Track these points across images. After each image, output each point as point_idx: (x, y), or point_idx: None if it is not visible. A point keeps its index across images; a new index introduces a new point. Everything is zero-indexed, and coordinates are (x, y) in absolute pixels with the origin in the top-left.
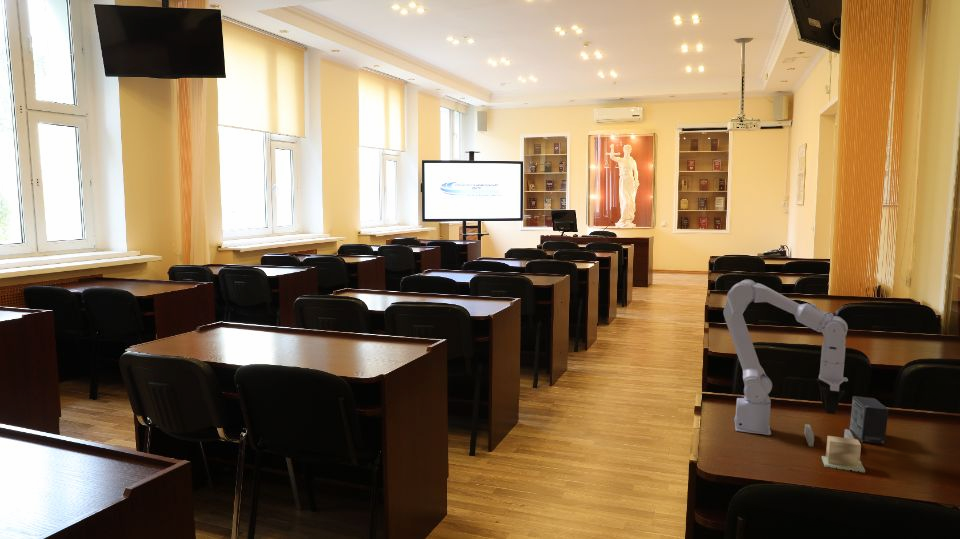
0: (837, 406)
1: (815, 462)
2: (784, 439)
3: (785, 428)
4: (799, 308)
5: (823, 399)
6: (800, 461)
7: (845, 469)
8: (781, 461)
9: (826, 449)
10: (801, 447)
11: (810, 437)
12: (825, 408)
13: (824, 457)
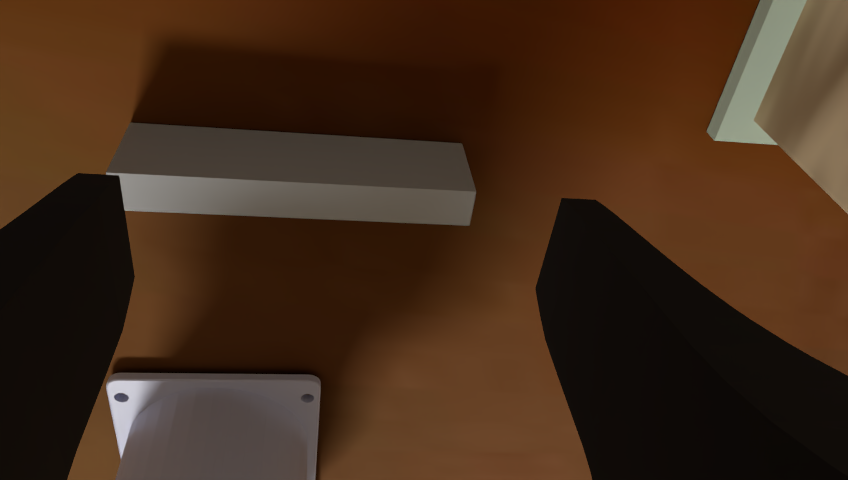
0: (679, 268)
1: (784, 185)
2: (358, 305)
3: None
4: None
5: (106, 335)
6: (763, 265)
7: None
8: None
9: (796, 158)
10: (500, 226)
11: (470, 211)
12: (557, 345)
13: (747, 127)
